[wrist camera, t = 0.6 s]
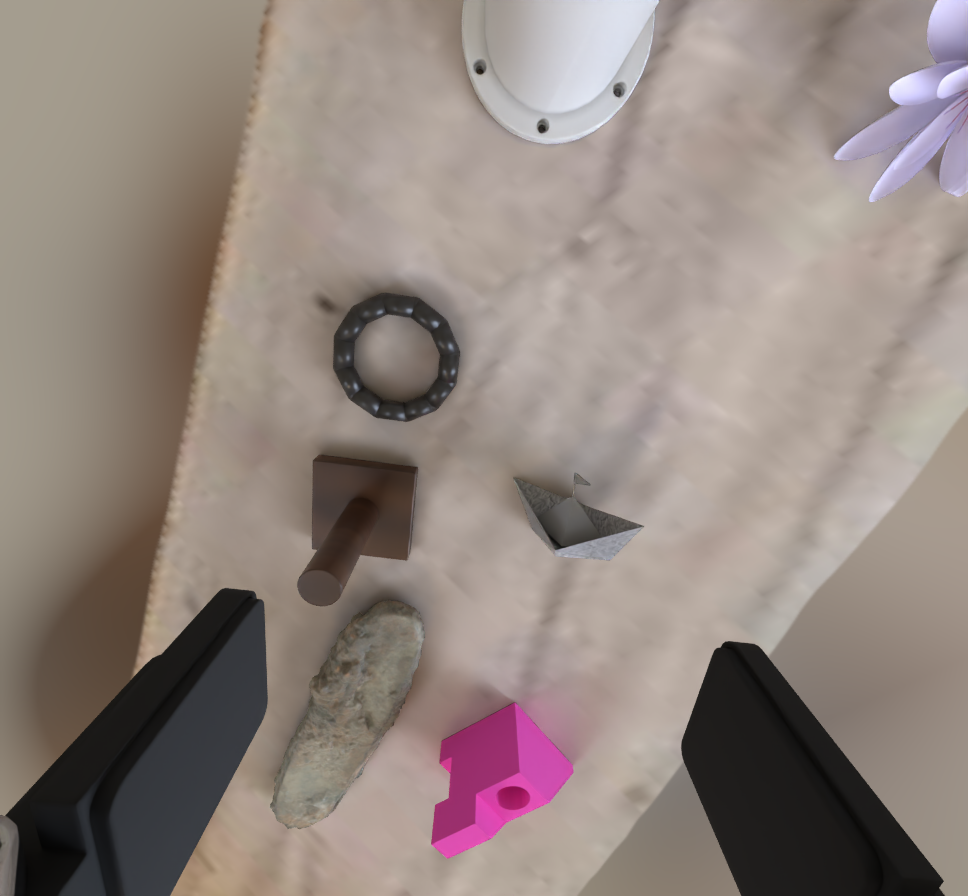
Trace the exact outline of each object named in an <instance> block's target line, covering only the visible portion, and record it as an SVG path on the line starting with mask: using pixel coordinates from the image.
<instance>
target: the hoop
mask: <svg viewBox="0 0 968 896" xmlns="http://www.w3.org/2000/svg"><path fill="white" fill-rule="evenodd" d="M385 315H396V316H403V317H410V318H412V319H413V320H415V321H416V322H417V323H419V324H420V325H421V326H423V327H424V328H425V329H426V330H428V331H429V332H430V333H431V335H432V337H433V340H434V342H435V344H436V347H437V349H438V351H439V353H440V359H439V369H438V377H437V379H436V380H435V381H434V383H433V384H432V385H431V387H430V388H429V390H428V391H427V392H426V394H425V395H422V396H420V397H417V398H415V399H413V400H410V401H408V402H405V403H404V402H397V401H389V400H383V399H381V398H380V397H378V396H377V395H376V394H374V393H373V392H371V391H370V390H369V389H367V388H366V387H365V386H364V385H363V383H362V381H361V379H360V377H359V375H358V373H357V371H356V369H355V367H354V343H355V341H356V339H357V338H358V336H359V335H360V333H361V332H362V330H363V329H364V327H365V326H366V324H367V323H369V322H372V321H374V320H376V319H378V318H381V317H383V316H385ZM459 357H460V351H459V348H458V345H457V343H456V341H455V338H454V336H453V334H452V331H451V329H450V326H449V324H448V322H447V320H446V319H445V318H444V317H443V316H441V315H440V314H439V313H438V312H436V311H435V310H434V309H433V308H431V307H430V306H429V305H427V304H426V303H425V302H424V301H422V300H421V299H420V298H417V297H412V296H405V295H398V294H391V293H381V294H379V295H377V296H375V297H372V298H370V299H368V300H366V301H363V302H361V303H359V304H357V305H355V306H353V307H352V308H351V309H350V311H349V312H348V314H347V315H346V317H345V319H344V320H343V322H342V323H341V325H340V326H339V328H338V329H337V331H336V333H335V335H334V354H333V369H334V371H335V373H336V375H337V377H338V379H339V381H340V383H341V385H342V387H343V389H344V391H345V392H346V394H347V396H348V398H349V399H350V400H351V401H353V402H354V403H356V404H357V405H358V406H360V407H361V408H363V409H364V410H366V411H367V412H368V413H370V414H371V415H373V416H374V417H376V418H382V419H389V420H397V421H404V422H408V421H411V420H414V419H416V418H419V417H421V416H424V415H426V414H429V413H431V412H434V411H436V410H437V409H438V408H439V407H440V406H441V404H442V403H443V402H444V400H445V399H446V398H447V396H448V395H449V394H450V392H451V391H452V390H453V388H454V387H455V386H456V383H457V374H458V366H459Z"/></svg>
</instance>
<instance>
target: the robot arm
mask: <svg viewBox="0 0 968 896" xmlns="http://www.w3.org/2000/svg"><path fill="white" fill-rule="evenodd" d="M659 1H660V0H464V3H463V9H462V44H463V53H464V58H465V63H466V67H467V72H468V75H469V78H470V80H471V83H472V85H473V88H474V90H475V93H476V94H477V96H478V98H479V99H480V101H481V103H482V104H483V106H484V107H485V109H486V110H487V111H488V112H489V114H490V115H491V116H492V117H493V118H494V119H495V120H496V121H497V122H498V123H499V124H500V125H501V126H503V127H504V128H505V129H507V130H508V131H509V132H511V133H512V134H515V135H517V136H519V137H521V138H523V139H525V140H528V141H533V142H537V143H542V144H561V143H565V142H570V141H574V140H578V139H580V138H582V137H584V136H586V135H588V134H590V133H592V132H594V131H595V130H597V129H598V128H599V127H601V126H602V125H604V124H605V123H606V122H608V121H609V120H610V119H611V118H612V116H613V115H614V114H615V113H616V112H617V111H618V110H619V109H620V108H621V107H622V106H623V104H624V103H625V102H626V100H627V99H628V97H629V96H630V95H631V93H632V91H633V89H634V88H635V86H636V84H637V82H638V80H639V79H640V77H641V75H642V72H643V69H644V67H645V64H646V61H647V59H648V56H649V52H650V47H651V42H652V38H653V33H654V16H655V7H656V6H657V4H658V2H659ZM478 69H482V70H483V71H484V73H483V74H480V75H479V74H477V73H476V72H477V70H478ZM614 91H618V92H619V97H617V96H615V95H614V93H613V92H614ZM540 126H542V127H544V128H545V132H544V133H540V132H539V131H538V128H539V127H540ZM267 702H268V695H267V668H266V641H265V614H264V602H263V600H261V599H257V598H256V594H255V592H253V591H248V590H239V589H229V588H224V589H221V590H220V591H219V592H218V593H217V594H216V595H215V596H214V597H213V598H212V600H211V601H210V602H209V603H208V604H207V605H206V606H205V607H204V608H203V609H202V610H201V612H200V613H199V614H198V615H197V616H196V617H195V618H194V619H193V620H192V621H191V623H190V624H189V625H188V626H187V627H186V628H185V629H184V630H183V631H182V632H181V634H180V635H179V636H178V637H177V638H176V639H175V640H174V641H173V642H172V643H171V645H170V646H169V647H168V648H167V649H166V650H165V651H164V652H163V653H162V654H161V655H158V656H156V657H154V658H152V659H151V660H150V661H149V662H148V663H147V664H146V665H145V666H144V667H143V668H142V669H141V670H140V671H139V672H138V673H137V674H136V675H135V676H134V677H133V678H132V680H131V681H130V682H129V683H128V684H127V685H126V686H125V687H124V688H123V689H122V690H121V691H120V692H119V694H118V695H117V696H116V697H115V698H114V699H113V700H112V701H111V702H110V703H109V704H108V706H107V707H106V708H105V709H104V710H103V711H102V712H101V713H100V714H99V715H98V716H97V717H96V718H95V720H94V721H93V722H92V723H91V724H90V725H89V726H88V727H87V728H86V729H85V730H84V731H83V732H82V733H81V734H80V736H79V737H78V738H77V739H76V740H75V741H74V742H73V743H72V744H71V745H70V746H69V747H68V748H67V750H66V751H65V752H64V753H63V754H62V755H61V756H60V757H59V758H58V759H57V760H56V761H55V762H54V764H53V765H52V766H51V767H50V768H49V769H48V770H47V771H46V772H45V773H44V774H43V775H42V777H41V778H40V779H39V780H38V781H37V782H36V783H35V784H34V785H33V786H32V787H31V788H30V789H29V791H28V792H27V793H26V794H25V795H24V796H23V797H22V798H21V799H20V800H19V801H18V802H17V803H16V805H15V806H14V807H13V808H12V809H11V810H10V811H9V812H8V813H7V814H6V815H5V816H2V815H0V896H170V895H171V893H172V891H173V889H174V887H175V885H176V883H177V881H178V879H179V878H180V876H181V874H182V872H183V870H184V868H185V866H186V864H187V862H188V861H189V859H190V857H191V855H192V853H193V851H194V849H195V847H196V845H197V843H198V842H199V840H200V838H201V836H202V834H203V832H204V830H205V828H206V826H207V825H208V823H209V821H210V819H211V817H212V815H213V813H214V811H215V809H216V808H217V806H218V804H219V802H220V800H221V798H222V796H223V794H224V792H225V790H226V789H227V787H228V785H229V783H230V781H231V779H232V777H233V775H234V773H235V772H236V770H237V768H238V766H239V764H240V762H241V760H242V758H243V756H244V755H245V753H246V751H247V749H248V747H249V745H250V743H251V741H252V739H253V737H254V736H255V734H256V732H257V730H258V728H259V726H260V724H261V722H262V720H263V718H264V715H265V712H266V708H267ZM681 750H682V756H683V760H684V763H685V765H686V767H687V770H688V772H689V775H690V777H691V779H692V781H693V784H694V786H695V788H696V791H697V793H698V796H699V798H700V800H701V803H702V805H703V807H704V810H705V812H706V814H707V816H708V819H709V821H710V824H711V826H712V828H713V831H714V833H715V835H716V838H717V840H718V842H719V845H720V847H721V849H722V852H723V854H724V856H725V859H726V861H727V863H728V866H729V868H730V870H731V873H732V875H733V877H734V880H735V882H736V884H737V887H738V889H739V892H740V894H741V896H945V895H944V894H943V893H942V891H941V890H940V889H939V887H940V886H941V884H942V883H943V882H944V881H943V879H942V878H941V877H940V875H939V874H938V873H937V872H936V870H935V869H934V868H933V867H932V865H931V864H930V863H929V862H928V860H927V859H926V858H925V857H924V855H923V854H922V853H921V852H920V850H919V849H918V848H917V846H916V845H915V844H914V842H913V841H912V840H911V839H910V837H909V836H908V835H907V834H906V832H905V831H904V830H903V829H902V827H901V826H900V825H899V823H898V822H897V821H896V820H895V818H894V817H893V816H892V814H891V813H890V812H889V811H888V809H887V808H886V807H885V806H884V804H883V803H882V802H881V800H880V799H879V798H878V797H877V795H876V794H875V793H874V792H873V790H872V789H871V788H870V786H869V785H868V784H867V783H866V781H865V780H864V779H863V778H862V777H861V775H860V774H859V772H858V771H857V770H856V769H855V767H854V766H853V765H852V764H851V762H850V761H849V760H848V759H847V757H846V756H845V755H844V753H843V752H842V751H841V750H840V748H839V747H838V746H837V744H836V743H835V742H834V741H833V739H832V738H831V737H830V736H829V734H828V733H827V732H826V731H825V729H824V728H823V727H822V725H821V724H820V723H819V722H818V720H817V719H816V718H815V716H814V715H813V714H812V713H811V712H810V710H809V709H808V708H807V707H806V705H805V704H804V702H803V701H802V700H801V699H800V697H799V696H798V695H797V694H796V692H795V691H794V690H793V689H792V687H791V686H790V685H789V683H788V682H787V681H786V680H785V678H784V677H783V676H782V674H781V673H780V672H779V671H778V669H777V668H776V667H775V666H774V664H773V663H772V662H771V661H770V659H769V658H768V657H767V655H766V654H765V653H764V652H763V650H762V649H761V648H760V647H759V646H757V645H755V644H750V643H740V642H731V641H727V642H725V643H723V644H722V646H721V648H717V649H715V651H714V652H713V655H712V658H711V661H710V663H709V666H708V669H707V672H706V675H705V677H704V680H703V683H702V686H701V689H700V691H699V694H698V697H697V700H696V703H695V706H694V708H693V711H692V714H691V717H690V720H689V722H688V725H687V728H686V731H685V734H684V736H683V739H682V744H681Z"/></svg>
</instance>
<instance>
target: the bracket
mask: <svg viewBox="0 0 968 896" xmlns="http://www.w3.org/2000/svg"><path fill="white" fill-rule="evenodd" d="M440 764H441V765H442V766H443V767H444V768H445V769H446V770H447V771H448V772H449V773H450V788H449V798H448V799H446V800H444V801H442V802H440V803H438V804H436V805H435V812H434V822H433V832H432V842H431V845H433V846H434V847H435V848H436V849H437V850H438V851H439V852H441V853H442V854H443V855H444V856H445V857H446V858H450V857H452V856H455V855H457V854H459V853H461V852H463V851H465V850H468V849H470V848H472V847H474V846H476V845H478V844H481V843H483V842H485V841H487V840H489V839H491V838H492V837H493V836H494V835H495V834H496V833H497V832H498V831H499V830H500V829H501V828H502V827H503V826H504V825H505V823H507V822H509V821H511V820H513V819H515V818H517V817H520V816H522V815H524V814H526V813H528V812H530V811H532V810H534V809H537V808H539V807H541V806H543V805H545V804H547V803H549V802H550V801H551V800H552V799H553V797H554V796H555V795H556V794H557V792H558V791H559V790H560V789H561V787H562V786H563V785H564V784H565V782H566V781H567V780H568V779H569V777H570V776H571V775H572V774H573V766H572V764H571V763H570V762H569V761H568V760H567V759H566V757H565V756H564V755H563V754H562V753H561V752H560V751H559V750H558V749H557V748H556V747H555V745H554V744H553V743H552V742H551V741H550V740H549V739H548V738H547V737H546V736H545V735H544V733H543V732H542V731H541V730H540V729H539V728H538V727H537V726H536V725H535V724H534V722H533V721H532V720H531V719H530V718H529V717H528V716H527V715H526V714H525V713H524V712H523V710H522V709H521V708H520V707H519V706H518V705H517V704H516V703H513V704H511V705H509V706H507V707H505V708H503V709H501V710H499V711H498V712H496V713H494V714H492V715H490V716H488V717H486V718H484V719H482V720H481V721H479V722H477V723H475V724H473V725H471V726H469V727H467V728H465V729H464V730H462V731H460V732H458V733H456V734H454V735H452V736H450V737H448V738H447V739H445V740H443V741H442V743H441V753H440Z"/></svg>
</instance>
